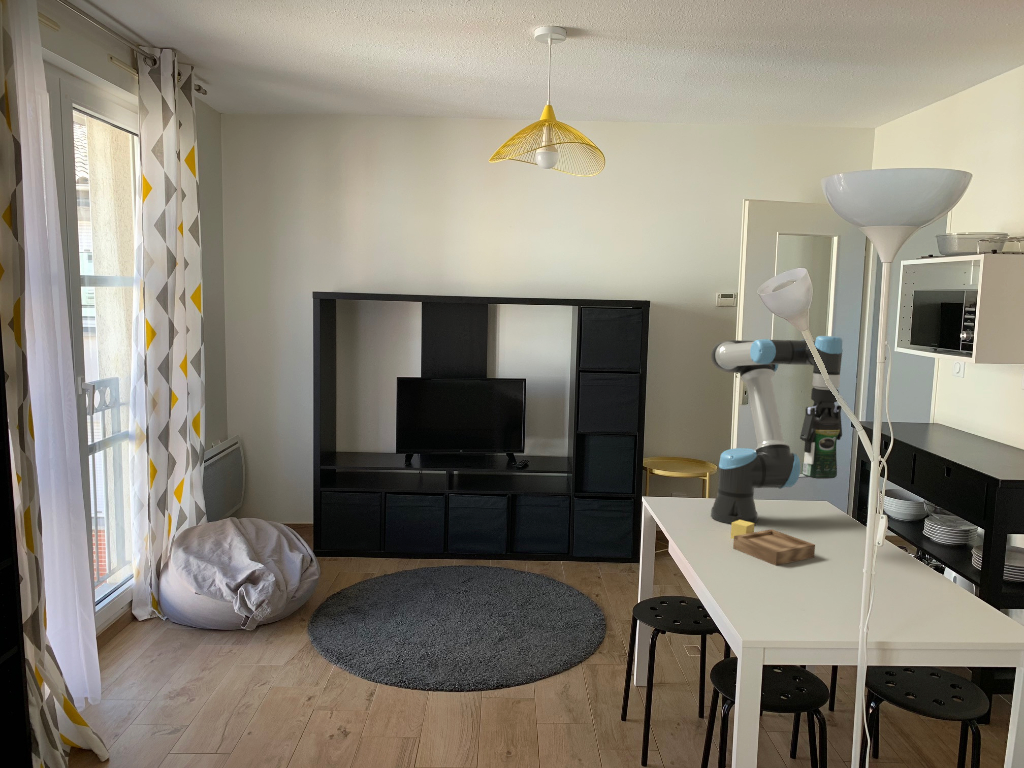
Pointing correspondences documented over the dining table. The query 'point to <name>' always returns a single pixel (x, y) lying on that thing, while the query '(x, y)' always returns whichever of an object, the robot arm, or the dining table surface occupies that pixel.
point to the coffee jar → (823, 449)
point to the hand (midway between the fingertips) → (819, 461)
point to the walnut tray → (774, 547)
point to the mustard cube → (741, 528)
